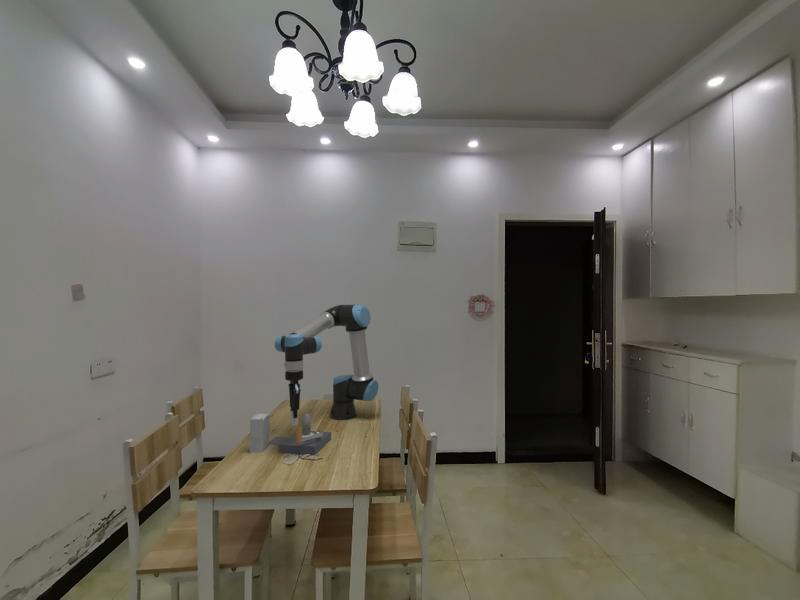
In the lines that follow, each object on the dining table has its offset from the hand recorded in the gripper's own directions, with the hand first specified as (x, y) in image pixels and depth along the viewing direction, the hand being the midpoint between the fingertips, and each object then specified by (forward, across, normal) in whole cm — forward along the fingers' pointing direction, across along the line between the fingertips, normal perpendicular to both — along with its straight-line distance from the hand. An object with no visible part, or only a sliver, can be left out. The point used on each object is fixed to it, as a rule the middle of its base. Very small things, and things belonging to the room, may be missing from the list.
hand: (294, 424), depth 172 cm
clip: (+5, +3, +5) cm, 8 cm away
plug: (+11, -3, +6) cm, 13 cm away
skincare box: (+12, -8, -14) cm, 20 cm away
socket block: (+12, -3, +6) cm, 13 cm away
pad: (+12, -14, -3) cm, 19 cm away
